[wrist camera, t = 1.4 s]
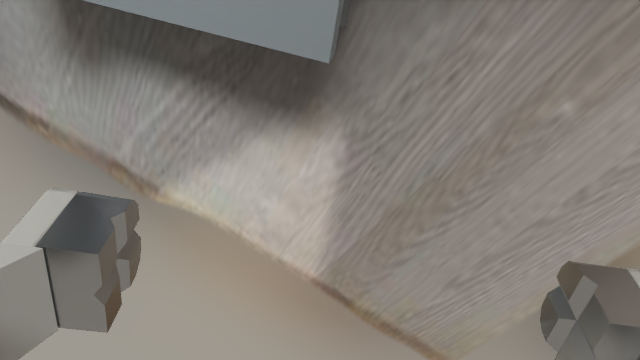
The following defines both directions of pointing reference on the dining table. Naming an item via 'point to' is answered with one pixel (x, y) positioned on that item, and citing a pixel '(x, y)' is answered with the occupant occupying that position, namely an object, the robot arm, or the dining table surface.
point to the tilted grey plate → (252, 21)
